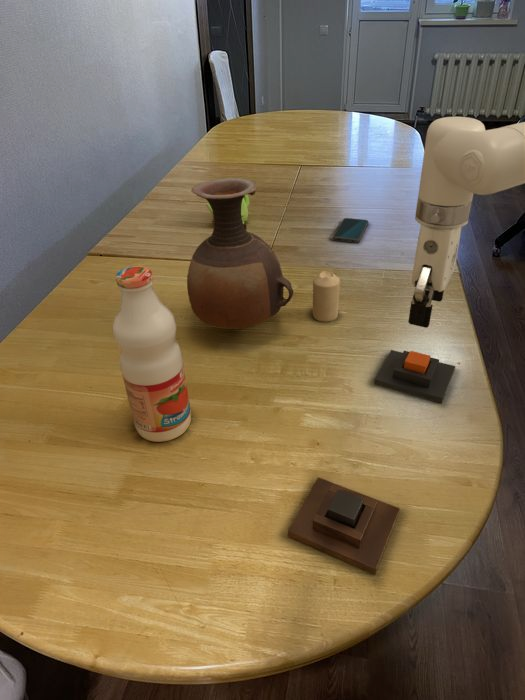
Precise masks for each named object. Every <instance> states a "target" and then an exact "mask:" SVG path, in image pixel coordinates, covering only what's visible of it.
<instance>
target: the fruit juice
mask: <svg viewBox="0 0 525 700" xmlns="http://www.w3.org/2000/svg"><path fill="white" fill-rule="evenodd" d="M115 281H116V285H117V288H118V289H119V290H120V293H121V294H120V295H121V297H120V307H119V310H118V312H117V313H116V315H115V317H114V320H113V323H112V335H113V338H114V341H115V343H116V345H117V346H118V348H119V353H118V354H119V355H118V361H119V368H120V372H121V376H122V380H123V384H124V388H125V391H126V396H127V400H128V404H129V408H130V412H131V416H132V420H133V424H134V427H135V430H136V432H137V433H138V435H139V436H140V437H142V438H143V439H145V440H146V441H149V442H154V443H155V442H157V443H158V442H159V443H162V442H167V441H171V440H174V439H177V438H179V437H180V436H181V435H183V434H184V433H186V432H187V430H188V428H189V427H190V425H191V422H192V410H191V404H190V398H189V391H188V385H187V379H186V373H185V367H184V359H183V354H182V350H181V347H180V344H179V342H178V341H177V339H176V335H177V323H176V319H175V316H174V314H173V312H172V311H171V310H170V309H169V308H168V307H167V306H166V305H164V304H163V303H162V302H161V300H160V298H159V297H158V295H157V294H156V291H155V290H154V287H153V284H154V276H153V273H152V270H151V268H149V267H147V266H143V265H134V266H128V267H125V268H122V269H120V270H119V271H118V272H117V273H116V275H115Z"/></svg>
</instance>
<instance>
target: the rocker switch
mask: <svg viewBox="0 0 525 700" xmlns="http://www.w3.org/2000/svg"><path fill="white" fill-rule="evenodd" d="M363 502H364V499H362V498H360V497H357V496H354V495H352V494H349V493H346V492H344V491H341V490H339V489H338V490H337V492H336V494H335V496H334V498H333V500H332V502H331V504H330V506H329V508H328V514H327V517H328V518H330V519H332V520H335V521H337V522H340V523H342V524H345V525H347V526H349V527H352V528H354V526H355V523H356V521H357V519H358V517H359V515H360V513H361V510H362V508H363Z"/></svg>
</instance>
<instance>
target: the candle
mask: <svg viewBox="0 0 525 700" xmlns="http://www.w3.org/2000/svg"><path fill="white" fill-rule="evenodd" d="M340 285H341V279H340V278H339V277H338V276H337V275H336V274H334V273H333V272H331V271H330V270H324V271H321V272H320V273H318V274H317V275H316V276H315V277H314V278H313V279H312V317H313V318H314V319H315V320H317V321H319V322H332V321H335V320H336V319H337V318H338V316H339V303H340V288H341V287H340Z"/></svg>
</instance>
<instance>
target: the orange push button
mask: <svg viewBox="0 0 525 700" xmlns="http://www.w3.org/2000/svg"><path fill="white" fill-rule="evenodd" d="M409 352H410V351H407V350H403V351H397V350H393V349H390V351H389V353H388V354H387V357H386V358H385V359H384V361H383V364H381V367H380V369H379V370H378V372H377V374H376V375H375V377H374V379H373V385H376V386H379V387H383V388H387V389H390V390H394V391H396V392H400V393H404V394H407V395H410V396H414V397H417V398H421V399H425V400H429V401H432V402H435V403H439V404H443V402H444V399H445V396H446V394H447V391H448V389H449V386H450V384H451V381H452V378H453V376H454V374H455V370H456V366H455V365H453V364H448V363H445V362H441V361H440V359H439V358H435V357H432V356H430V361H429V365H428V367H427V369H426V371H425V373H424V374H423V373H419V372H415V371H412V370H408V369H404V364H405V360H406V358H407V356H408V354H409Z"/></svg>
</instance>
